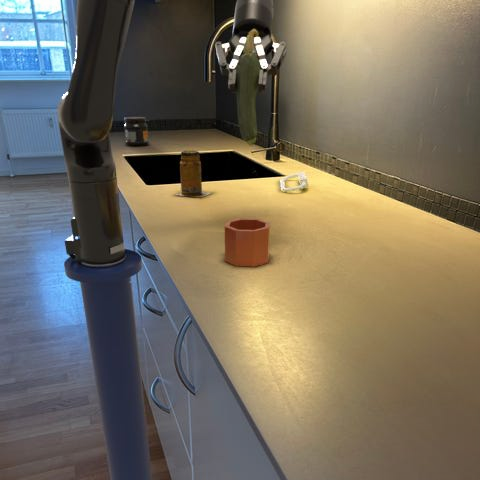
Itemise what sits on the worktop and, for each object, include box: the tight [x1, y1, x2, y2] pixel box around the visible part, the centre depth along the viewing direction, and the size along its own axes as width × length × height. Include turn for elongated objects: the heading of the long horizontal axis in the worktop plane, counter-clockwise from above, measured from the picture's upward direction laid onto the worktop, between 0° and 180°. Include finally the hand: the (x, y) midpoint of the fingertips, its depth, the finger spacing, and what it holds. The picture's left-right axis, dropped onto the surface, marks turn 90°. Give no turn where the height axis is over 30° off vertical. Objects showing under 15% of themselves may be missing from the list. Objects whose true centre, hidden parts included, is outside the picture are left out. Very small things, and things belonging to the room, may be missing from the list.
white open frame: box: [279, 171, 309, 193], centre depth 159 cm, size 20×8×4 cm, turn 177°
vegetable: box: [236, 29, 260, 147], centre depth 96 cm, size 4×4×20 cm
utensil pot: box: [224, 217, 271, 268], centre depth 100 cm, size 8×8×7 cm
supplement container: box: [123, 116, 150, 148], centre depth 235 cm, size 10×10×12 cm
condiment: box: [175, 150, 213, 198], centre depth 148 cm, size 7×8×12 cm
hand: (247, 89), depth 94 cm, fingers closed on vegetable, 4 cm apart
